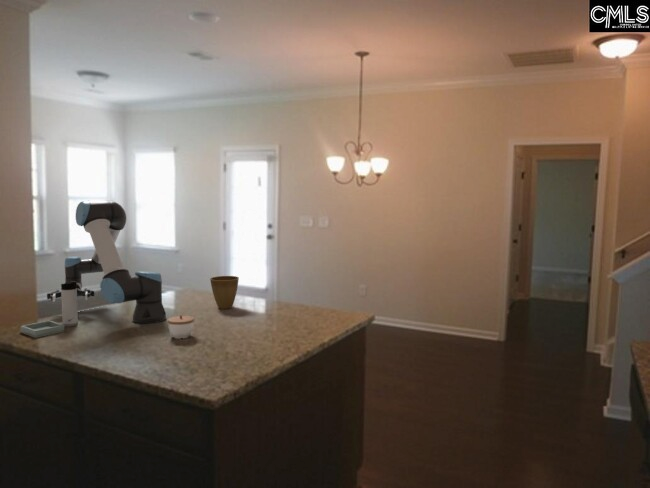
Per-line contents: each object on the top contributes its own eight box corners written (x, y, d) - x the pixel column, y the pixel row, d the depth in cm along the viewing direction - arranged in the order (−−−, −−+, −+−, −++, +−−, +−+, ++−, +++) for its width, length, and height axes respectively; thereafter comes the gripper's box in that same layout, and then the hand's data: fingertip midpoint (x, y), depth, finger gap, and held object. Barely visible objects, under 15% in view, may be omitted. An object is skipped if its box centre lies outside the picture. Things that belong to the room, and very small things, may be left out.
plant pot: (229, 303, 272) (229, 274, 270) (244, 307, 261) (244, 278, 259) (205, 306, 262) (204, 277, 260) (219, 312, 251) (219, 281, 249)
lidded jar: (199, 334, 210) (199, 313, 209) (184, 341, 200) (184, 319, 199) (178, 332, 213) (177, 311, 212) (162, 338, 203) (162, 316, 202)
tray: (64, 331, 212) (64, 325, 211) (35, 337, 202) (34, 331, 202) (49, 326, 219) (49, 320, 219) (20, 332, 209) (20, 325, 209)
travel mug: (72, 327, 218) (70, 283, 216) (59, 326, 220) (57, 282, 218) (81, 323, 225) (80, 280, 223) (69, 322, 226) (67, 280, 224)
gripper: (99, 295, 253) (99, 303, 234) (44, 298, 242) (39, 308, 223) (99, 281, 252) (99, 288, 233) (44, 284, 242) (39, 291, 222)
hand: (70, 298), depth 228 cm, fingers open, 13 cm apart
